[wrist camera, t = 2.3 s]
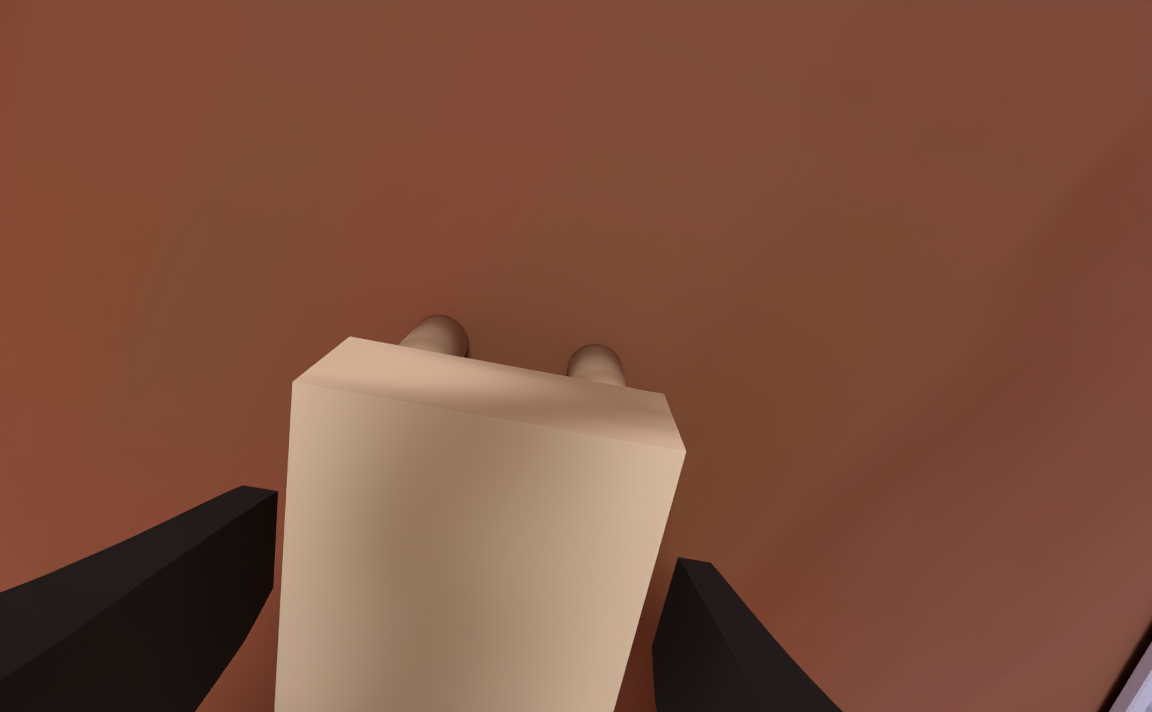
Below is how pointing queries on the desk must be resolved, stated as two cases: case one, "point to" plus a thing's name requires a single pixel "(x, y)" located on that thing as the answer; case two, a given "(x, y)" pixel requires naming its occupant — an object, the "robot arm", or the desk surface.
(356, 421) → the tan plank with pegs
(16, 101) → the desk surface
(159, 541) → the robot arm
